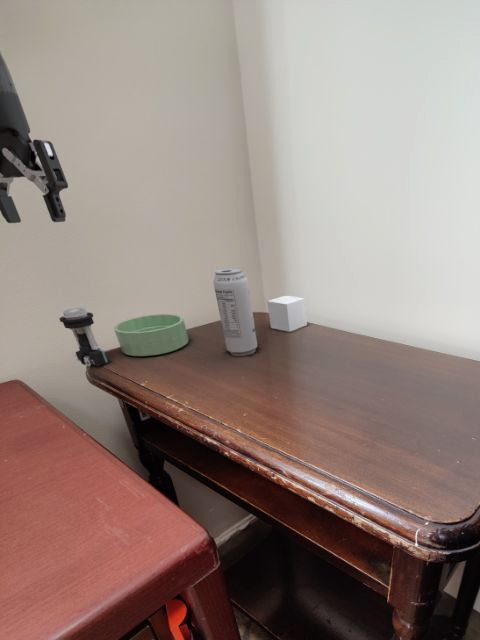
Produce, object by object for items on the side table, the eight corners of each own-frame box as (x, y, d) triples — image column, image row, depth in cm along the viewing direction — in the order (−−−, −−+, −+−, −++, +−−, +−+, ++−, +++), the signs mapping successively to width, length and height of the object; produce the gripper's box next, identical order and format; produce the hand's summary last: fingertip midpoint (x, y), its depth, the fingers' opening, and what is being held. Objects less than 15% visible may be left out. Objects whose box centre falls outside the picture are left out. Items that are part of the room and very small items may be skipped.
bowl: (108, 357, 79) (99, 332, 76) (145, 336, 89) (138, 313, 87) (169, 358, 77) (162, 333, 74) (199, 336, 87) (194, 314, 85)
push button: (67, 367, 75) (43, 313, 69) (88, 357, 79) (68, 306, 73) (96, 369, 73) (74, 315, 68) (116, 359, 77) (97, 307, 72)
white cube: (289, 332, 88) (286, 304, 85) (270, 327, 91) (267, 301, 88) (307, 324, 92) (305, 298, 89) (288, 321, 95) (285, 295, 92)
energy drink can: (264, 351, 78) (252, 269, 70) (237, 359, 75) (221, 275, 66) (248, 344, 82) (234, 266, 74) (222, 352, 79) (205, 271, 70)
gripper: (49, 92, 57) (90, 220, 66) (-33, 98, 60) (18, 221, 69) (5, 81, 51) (57, 223, 60) (-84, 88, 54) (-21, 225, 63)
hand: (36, 222), depth 64 cm, fingers open, 8 cm apart
